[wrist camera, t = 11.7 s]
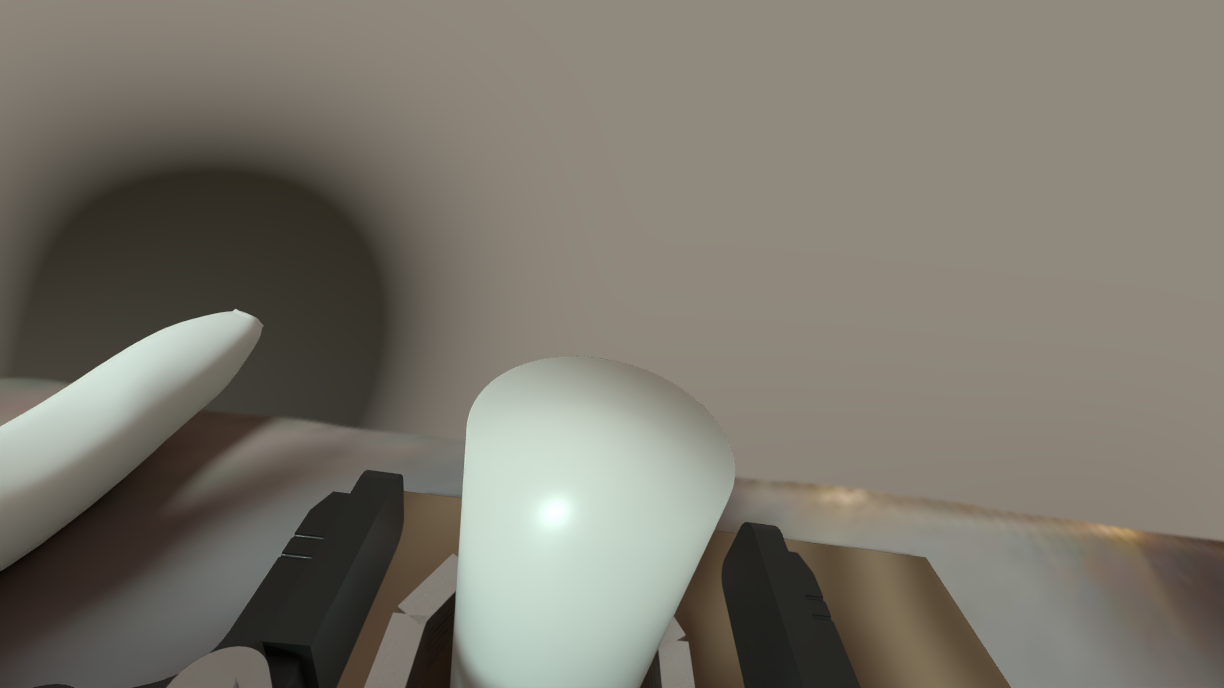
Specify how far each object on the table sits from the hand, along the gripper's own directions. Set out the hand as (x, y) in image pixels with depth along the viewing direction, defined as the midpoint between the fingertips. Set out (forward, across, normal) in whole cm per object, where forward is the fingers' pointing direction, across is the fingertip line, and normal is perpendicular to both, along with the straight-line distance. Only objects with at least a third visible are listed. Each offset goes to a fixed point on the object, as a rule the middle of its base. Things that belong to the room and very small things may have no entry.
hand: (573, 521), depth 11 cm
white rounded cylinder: (-1, 0, +8) cm, 9 cm away
